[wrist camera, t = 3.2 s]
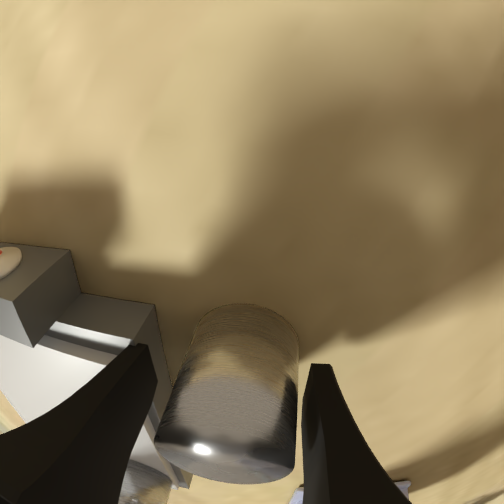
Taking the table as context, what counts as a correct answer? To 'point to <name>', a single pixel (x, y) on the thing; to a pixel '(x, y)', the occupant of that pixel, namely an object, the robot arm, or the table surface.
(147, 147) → the table surface
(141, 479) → the cylinder
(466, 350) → the table surface
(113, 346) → the scale
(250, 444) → the cylinder
